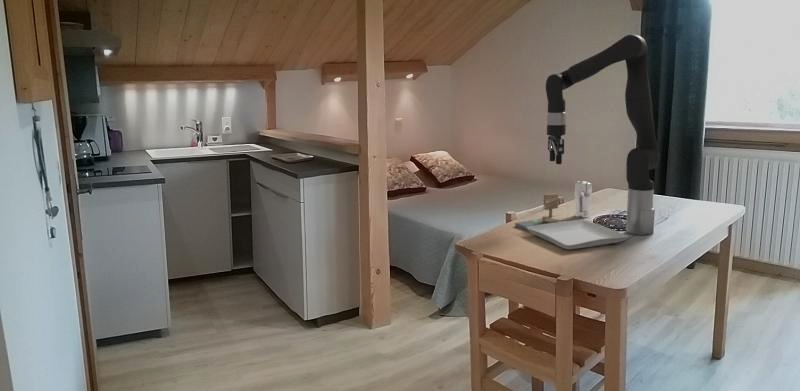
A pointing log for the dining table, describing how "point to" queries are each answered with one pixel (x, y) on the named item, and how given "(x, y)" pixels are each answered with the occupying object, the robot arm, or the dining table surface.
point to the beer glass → (582, 198)
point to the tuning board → (530, 223)
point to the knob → (550, 208)
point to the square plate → (577, 234)
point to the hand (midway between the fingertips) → (555, 162)
